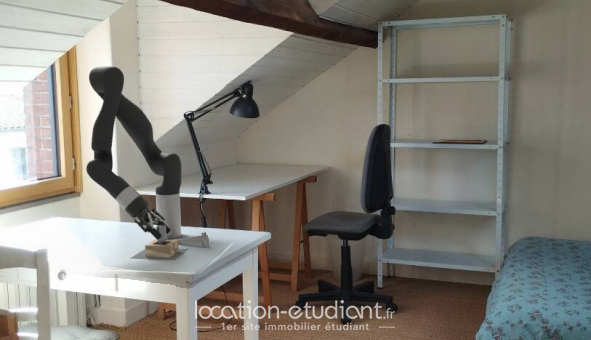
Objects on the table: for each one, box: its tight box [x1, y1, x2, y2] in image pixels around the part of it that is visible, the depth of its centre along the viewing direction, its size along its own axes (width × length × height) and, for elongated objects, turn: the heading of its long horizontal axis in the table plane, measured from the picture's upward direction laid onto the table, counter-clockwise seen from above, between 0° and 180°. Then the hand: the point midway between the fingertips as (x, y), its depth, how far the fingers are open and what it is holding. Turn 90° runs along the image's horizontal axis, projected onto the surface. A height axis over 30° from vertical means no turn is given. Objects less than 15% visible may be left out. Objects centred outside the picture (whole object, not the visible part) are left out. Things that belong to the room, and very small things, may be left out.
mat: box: [129, 248, 189, 261], centre depth 230 cm, size 15×16×1 cm
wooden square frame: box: [144, 239, 180, 258], centre depth 229 cm, size 9×9×4 cm
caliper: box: [175, 231, 210, 249], centre depth 242 cm, size 20×1×6 cm, turn 63°
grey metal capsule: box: [155, 225, 167, 245], centre depth 228 cm, size 3×3×10 cm
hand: (164, 235), depth 228 cm, fingers open, 8 cm apart
